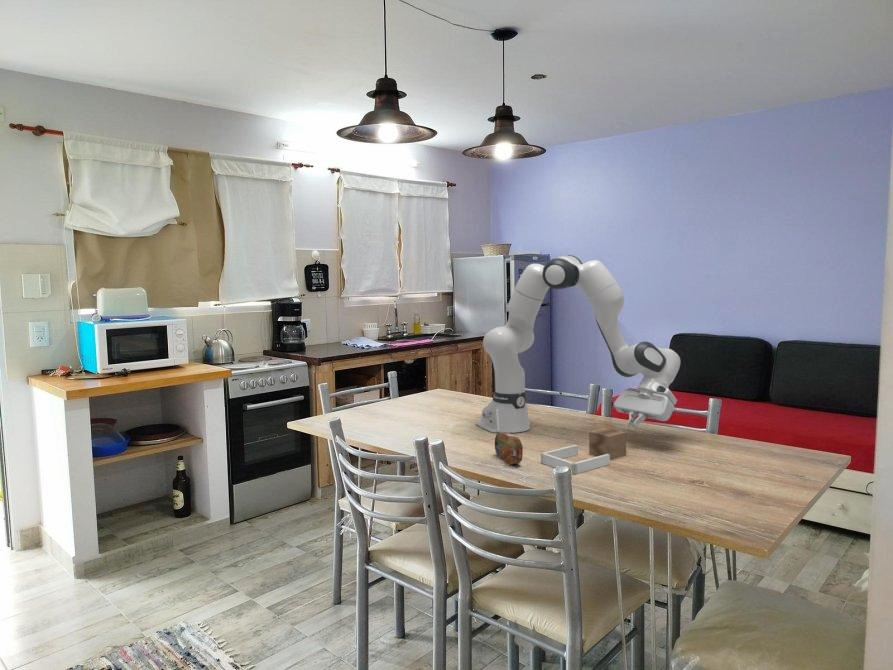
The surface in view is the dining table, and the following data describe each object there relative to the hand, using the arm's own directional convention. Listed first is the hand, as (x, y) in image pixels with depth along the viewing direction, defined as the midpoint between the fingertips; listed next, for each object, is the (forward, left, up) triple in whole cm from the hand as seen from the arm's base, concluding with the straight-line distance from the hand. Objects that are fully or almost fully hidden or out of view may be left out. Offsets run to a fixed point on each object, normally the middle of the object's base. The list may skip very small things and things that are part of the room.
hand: (631, 425), depth 196 cm
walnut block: (0, -12, -8) cm, 14 cm away
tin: (-15, -40, -8) cm, 43 cm away
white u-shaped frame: (0, -26, -8) cm, 27 cm away
